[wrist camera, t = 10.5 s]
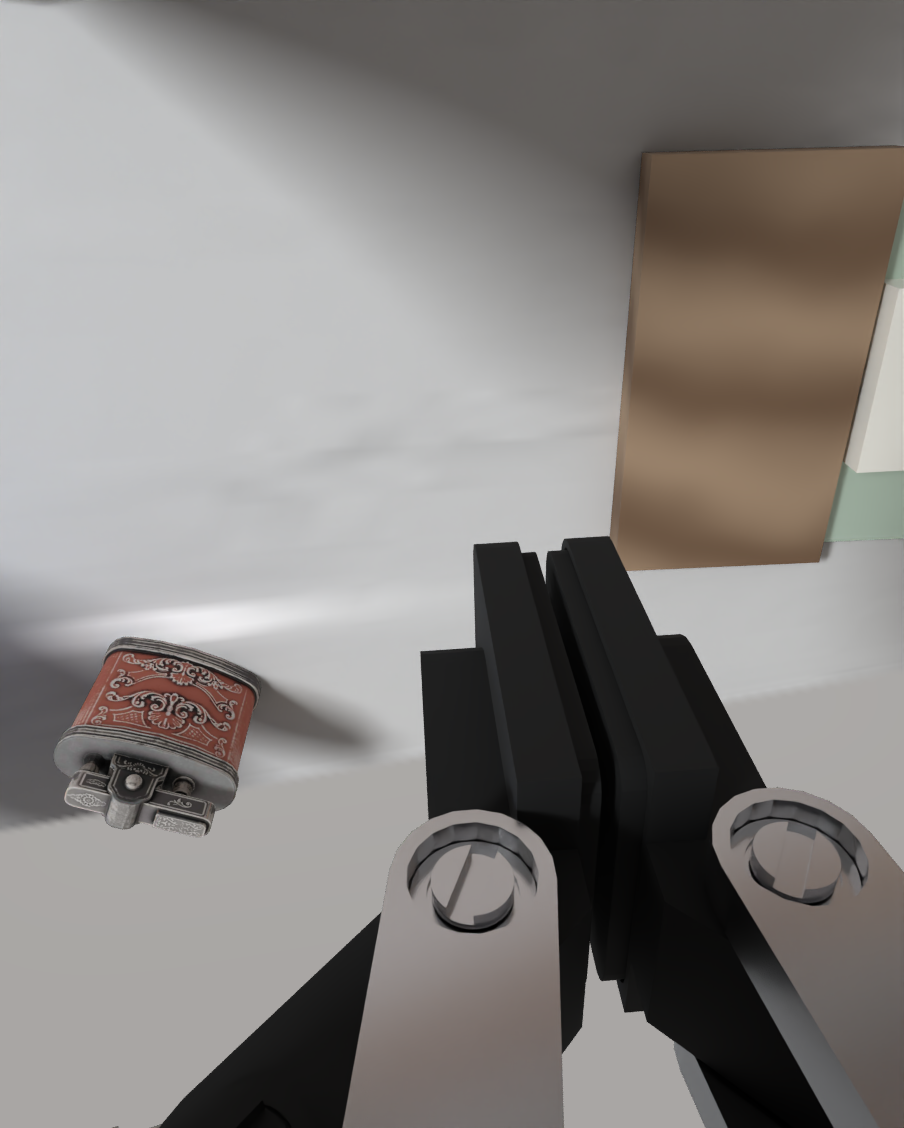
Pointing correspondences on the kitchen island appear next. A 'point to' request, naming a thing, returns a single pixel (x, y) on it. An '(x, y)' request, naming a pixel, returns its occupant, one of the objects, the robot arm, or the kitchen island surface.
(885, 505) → the mat
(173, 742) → the lighter
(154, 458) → the kitchen island surface
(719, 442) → the riser
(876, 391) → the tile
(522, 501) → the kitchen island surface
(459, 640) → the kitchen island surface
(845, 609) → the kitchen island surface
